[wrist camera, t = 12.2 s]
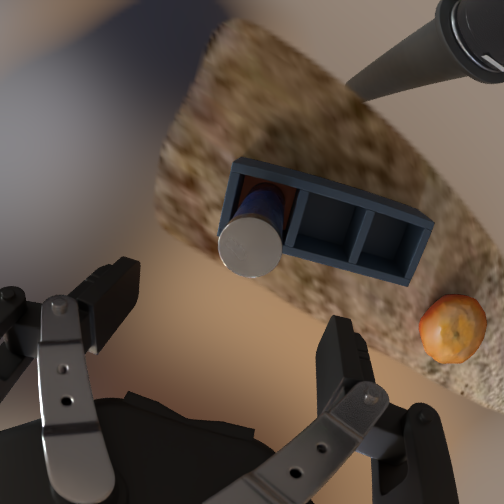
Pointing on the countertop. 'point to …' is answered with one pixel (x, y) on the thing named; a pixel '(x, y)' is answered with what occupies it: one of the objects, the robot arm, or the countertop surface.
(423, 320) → the fruit
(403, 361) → the countertop surface
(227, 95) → the countertop surface
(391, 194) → the countertop surface
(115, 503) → the robot arm
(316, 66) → the countertop surface
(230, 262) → the thermos
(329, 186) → the rack
